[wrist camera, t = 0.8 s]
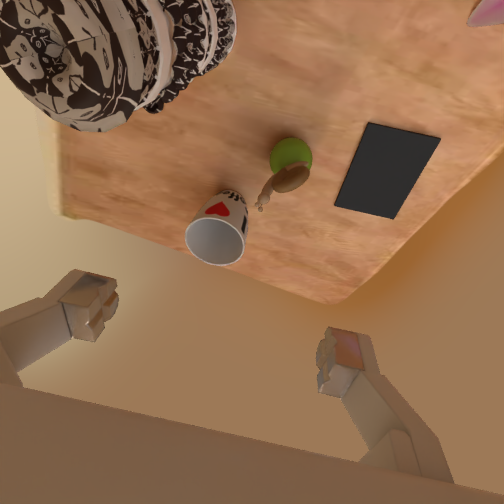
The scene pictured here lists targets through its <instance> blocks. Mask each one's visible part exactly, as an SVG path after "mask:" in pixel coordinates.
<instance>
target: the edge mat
mask: <svg viewBox="0 0 504 504" xmlns="http://www.w3.org/2000/svg"><path fill="white" fill-rule="evenodd" d="M440 140H441V139H440V138H437V137H432V136H428V135H423V134H419V133H414V132H410V131H405V130H401V129H396V128H392V127H387V126H383V125H378V124H374V123H369V122H368V124H367V127H366V129H365V132H364V134H363V136H362V139H361V141H360V144H359V146H358V149H357V151H356V153H355V156H354V158H353V161H352V163H351V166H350V168H349V170H348V173H347V175H346V178H345V180H344V183H343V185H342V187H341V190H340V192H339V195H338V197H337V200H336V202H335V204H334V205H335V206H337V207H341V208H346V209H350V210H354V211H359V212H363V213H368V214H372V215H377V216H381V217H385V218H390V219H394V218H395V216H396V215H397V213H398V211H399V210H400V208H401V206H402V205H403V203H404V201H405V200H406V198H407V196H408V195H409V193H410V191H411V189H412V188H413V186H414V184H415V183H416V181H417V179H418V178H419V176H420V174H421V173H422V171H423V169H424V167H425V166H426V164H427V162H428V161H429V159H430V157H431V156H432V154H433V152H434V151H435V149H436V147H437V146H438V144H439V142H440Z"/></svg>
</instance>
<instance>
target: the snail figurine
mask: <svg viewBox="0 0 504 504" xmlns="http://www.w3.org/2000/svg"><path fill="white" fill-rule="evenodd" d="M311 165H312V153H311V150H310V148H309V146H308V145H307V144H306V143H305V142H304V141H302V140H301V139H298V138H285V139H283V140H281V141H279V142H278V143H277V144H276V145H275V146H274V148H273V149H272V151H271V154H270V167H271V170H272V172H273V173H274V175H273V176H272V177H271V178H270V179H269V180H268V181H267V183H266V184H265V186H264V187H263V189H262V192H261V194H260V195H259V196H258V201H257V202H256V203H255V206H256V207H259V205H260V204H261V205H262V204H266V203H268V202H269V200H270V195H271V194H272V192H273V190H275V191H276V192H279V193H285V192H289V191H292V190H294V189H296V188H298V187H299V186H301V185H302V184H303V183H304V182H305V181H306V180H307V179H308V177H309V174H310V171H309V170H310V168H311ZM258 202H259V203H260V204H259V203H258ZM262 210H263V209H262V207H261V206H260V207H259V208H258V211H259V212H262Z"/></svg>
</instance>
